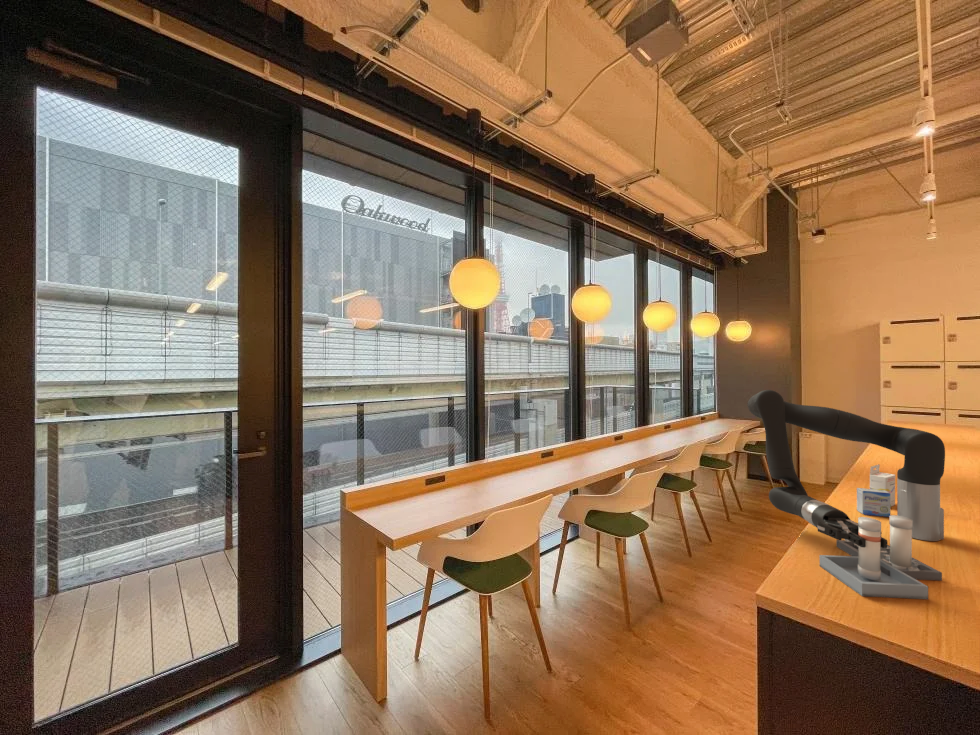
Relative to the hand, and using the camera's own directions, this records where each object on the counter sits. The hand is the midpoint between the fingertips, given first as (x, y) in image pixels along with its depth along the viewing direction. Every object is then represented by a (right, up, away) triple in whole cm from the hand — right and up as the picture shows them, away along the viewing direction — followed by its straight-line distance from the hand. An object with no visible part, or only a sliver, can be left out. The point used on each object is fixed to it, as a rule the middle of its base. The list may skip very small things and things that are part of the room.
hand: (874, 543), depth 98 cm
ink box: (+55, -9, +54) cm, 78 cm away
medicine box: (+43, -9, +45) cm, 63 cm away
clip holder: (+13, -10, +11) cm, 20 cm away
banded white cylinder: (0, -9, +2) cm, 9 cm away
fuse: (+13, -10, +6) cm, 17 cm away
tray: (0, -10, +2) cm, 10 cm away
